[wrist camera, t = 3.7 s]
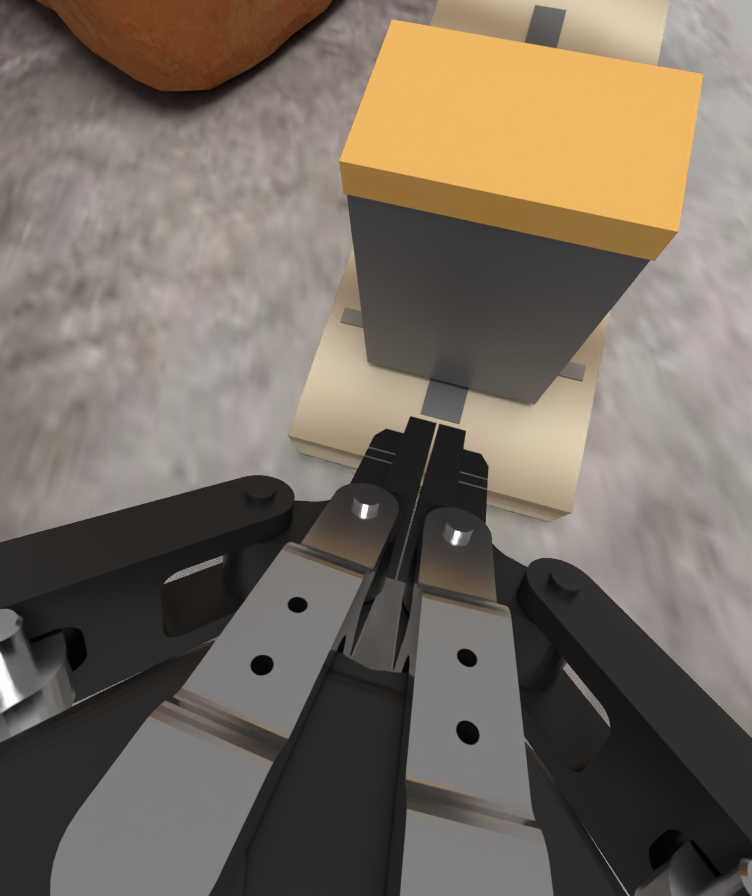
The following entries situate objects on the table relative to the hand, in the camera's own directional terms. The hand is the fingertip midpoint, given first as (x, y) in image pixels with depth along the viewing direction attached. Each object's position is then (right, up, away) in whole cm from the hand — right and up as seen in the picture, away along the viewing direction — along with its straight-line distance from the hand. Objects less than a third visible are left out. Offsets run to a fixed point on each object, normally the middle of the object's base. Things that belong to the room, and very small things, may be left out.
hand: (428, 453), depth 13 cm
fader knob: (+2, +4, +5) cm, 6 cm away
